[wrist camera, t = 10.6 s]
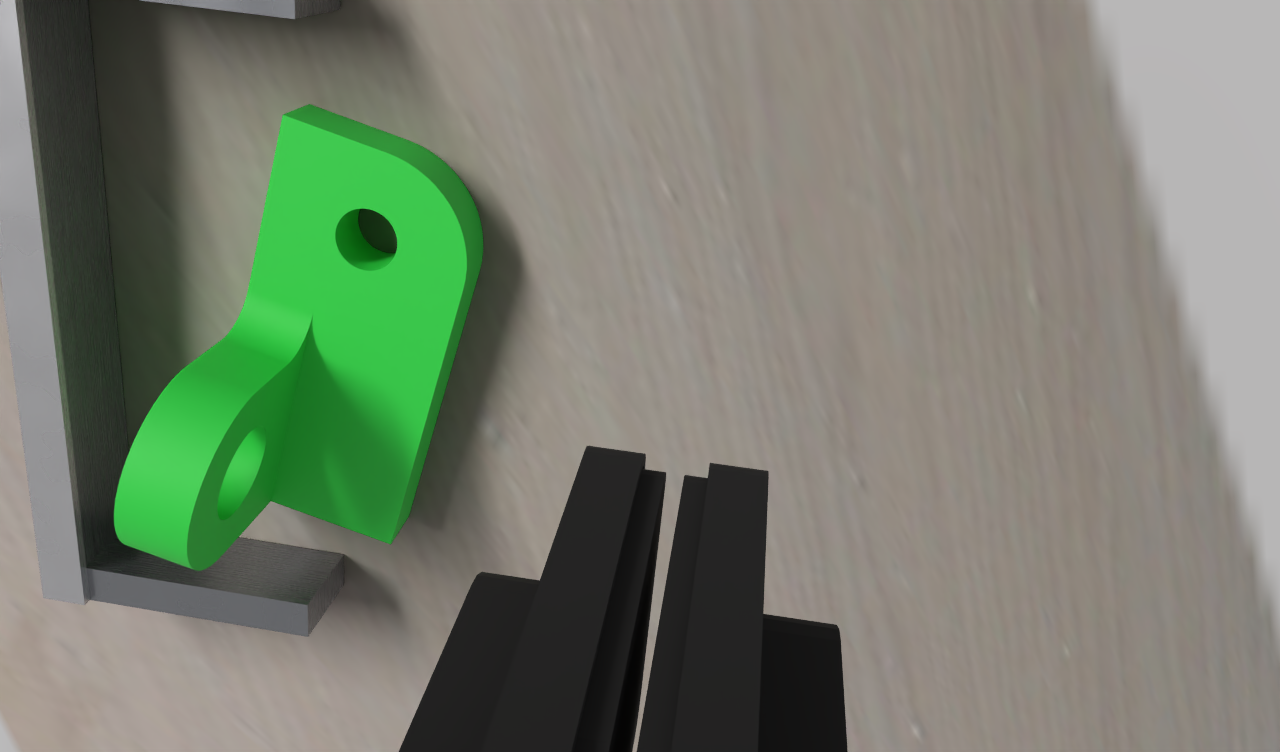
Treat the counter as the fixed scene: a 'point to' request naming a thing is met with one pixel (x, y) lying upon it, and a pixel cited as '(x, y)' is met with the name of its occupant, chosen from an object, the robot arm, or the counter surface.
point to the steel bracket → (101, 344)
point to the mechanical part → (316, 353)
